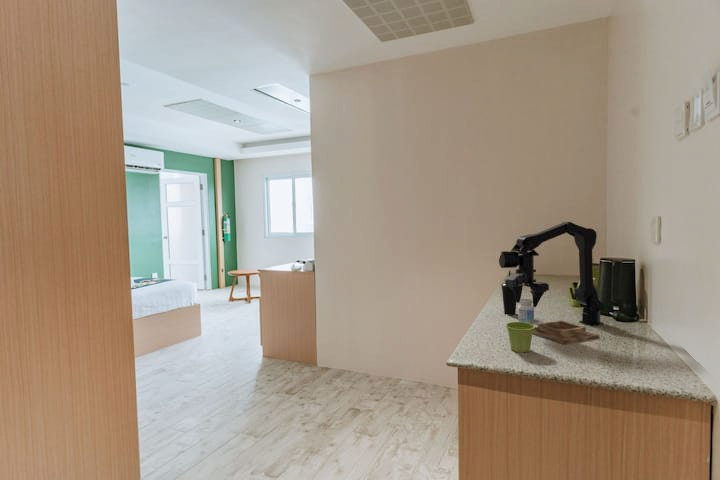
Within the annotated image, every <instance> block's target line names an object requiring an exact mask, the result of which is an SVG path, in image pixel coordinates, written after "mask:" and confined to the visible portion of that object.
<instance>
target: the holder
mask: <svg viewBox="0 0 720 480" xmlns="http://www.w3.org/2000/svg"><path fill="white" fill-rule="evenodd" d="M532 335H534V336H537V337H540V338H543V339H545V340H548V341H551V342H554V343H557V344H559V345H567V344H568V345H569V344H574V343H578V342H584V341H590V340H595V339H599V338H600V334H596V333H594V332H590V331H587V329H586V327H585V326H582V325H578V324H575V323H571V322H568V321H564V320H554V321H548V322H542V323H537V326H535V329H534V331H533V333H532Z"/></svg>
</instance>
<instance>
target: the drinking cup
mask: <svg viewBox="0 0 720 480" xmlns="http://www.w3.org/2000/svg"><path fill="white" fill-rule="evenodd" d="M509 276H511V270H509V271H508V277H509ZM500 286H501V290H502V291H501V294H502V302H503V313H504V315H506V314H507V316H515V315H516V313H517V312H516V311H517V304H518V303H517V301H516V298H515V296H514V293H513V291H512V289H511V288H509V287H508V285H505V282H503V283H501V284H500Z"/></svg>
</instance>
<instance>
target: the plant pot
mask: <svg viewBox="0 0 720 480" xmlns="http://www.w3.org/2000/svg"><path fill="white" fill-rule="evenodd" d="M505 327H506V329H507V332H508V337H509V344H510V350H511V351H513V352H515V353H520V354H522V353H529V352H530V351H531V347H532V346H531V345H532V340H533V339H532V338H533V334H532V333H533V331H534V329H535V328H536V326H535V324H534V325H533V324H530V323H525V322H518V321H512V322H511V321H510V322H507V323H506V324H505Z"/></svg>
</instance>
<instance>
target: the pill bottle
mask: <svg viewBox="0 0 720 480" xmlns="http://www.w3.org/2000/svg"><path fill="white" fill-rule="evenodd" d="M517 310H518V315H517V316H518V319H517V320H518V321H517V322H525V323H530V324H533V325H534V326H535V307H533V299H531V298H521V299H520V303H519V305H518V307H517Z"/></svg>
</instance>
